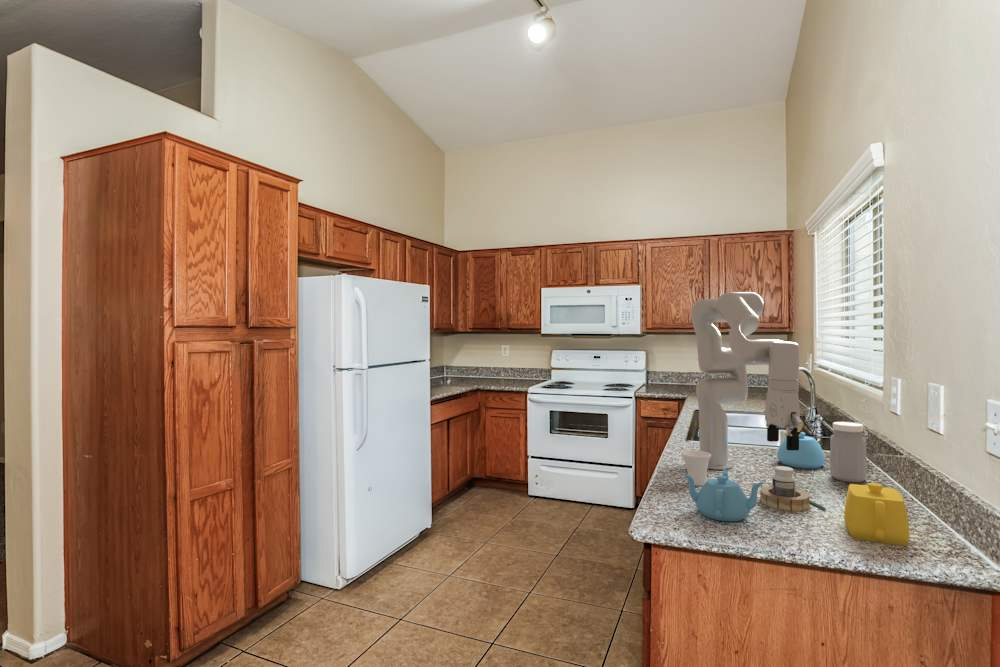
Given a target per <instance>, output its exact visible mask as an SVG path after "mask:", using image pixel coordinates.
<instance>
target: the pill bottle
mask: <svg viewBox="0 0 1000 667" xmlns="http://www.w3.org/2000/svg"><path fill="white" fill-rule="evenodd" d="M774 473H775V474H773V476H772V486H773V494H774V495H777V496H782V497H796V491H795V489H796V478H795V476H794V475H793V474H794V467H793V468H792V467H791V466H786V465H785V466H784V465H782V466H781V465H777V466H774Z"/></svg>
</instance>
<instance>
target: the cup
mask: <svg viewBox="0 0 1000 667" xmlns="http://www.w3.org/2000/svg"><path fill="white" fill-rule="evenodd" d="M681 456H682V458H683V460H684V462H685V466H686V469H687V474H688V475H690V476H692V478H693V479H694V485H695V487H703V485H704V484H705V483H706V482H707V481H708V479H707V474H708V473H707V472H708V469H707V467H708V462H709V459H710V457H711V454H710V453H708V452H704V451H700V450H696V449H695V450H694V449H693V450H687V449H684V450H683V451H682V452H681ZM687 482H688V483H689V481H688V480H687Z"/></svg>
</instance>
